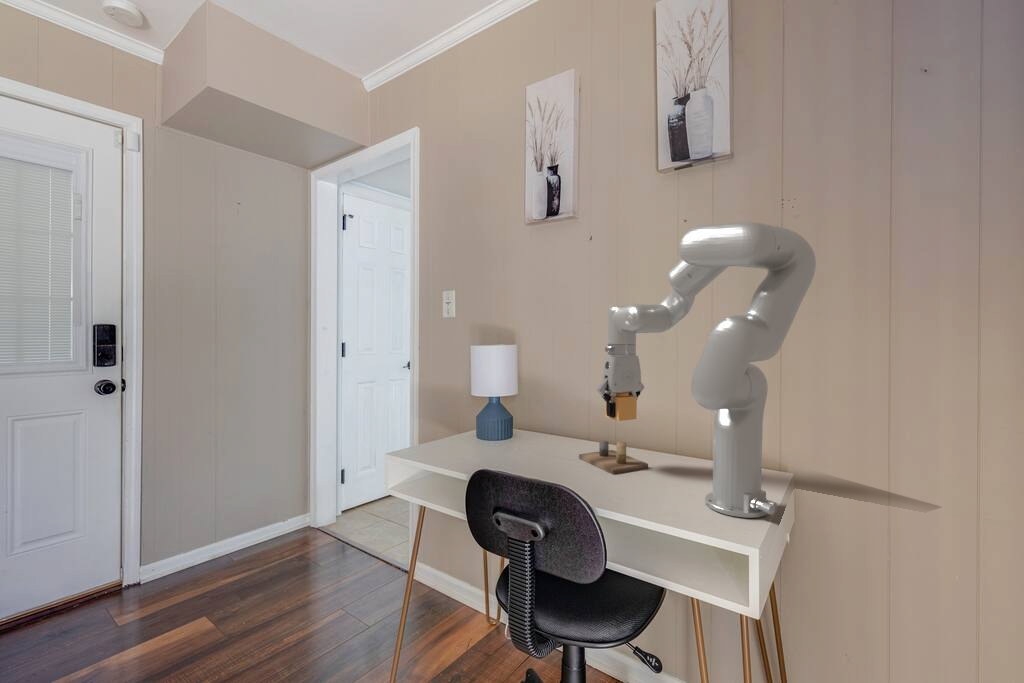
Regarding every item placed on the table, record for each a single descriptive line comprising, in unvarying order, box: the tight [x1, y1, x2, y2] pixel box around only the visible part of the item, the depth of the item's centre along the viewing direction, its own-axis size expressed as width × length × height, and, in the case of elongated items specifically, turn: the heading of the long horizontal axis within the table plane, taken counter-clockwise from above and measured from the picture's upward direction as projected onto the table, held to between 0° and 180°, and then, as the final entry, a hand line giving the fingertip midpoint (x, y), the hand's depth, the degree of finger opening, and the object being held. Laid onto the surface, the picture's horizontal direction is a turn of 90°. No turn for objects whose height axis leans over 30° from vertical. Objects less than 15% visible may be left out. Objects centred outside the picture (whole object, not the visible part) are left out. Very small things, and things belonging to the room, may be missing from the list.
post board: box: [578, 440, 649, 475], centre depth 133 cm, size 16×12×7 cm
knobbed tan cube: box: [604, 392, 638, 422], centre depth 129 cm, size 6×6×7 cm
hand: (620, 415), depth 129 cm, fingers closed on knobbed tan cube, 6 cm apart
